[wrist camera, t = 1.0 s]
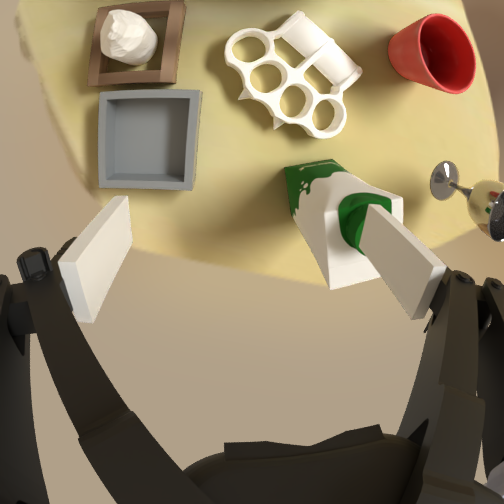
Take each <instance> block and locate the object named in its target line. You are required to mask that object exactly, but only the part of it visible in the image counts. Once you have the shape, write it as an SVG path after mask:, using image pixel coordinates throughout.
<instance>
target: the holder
mask: <svg viewBox="0 0 504 504" xmlns="http://www.w3.org/2000/svg"><path fill="white" fill-rule="evenodd" d="M118 9H119V10H125V11H130V12H133V13H136V14H138V15H140V16H141V17H142V18H159V17H168V21H167V28H166V34H165V41H164V48H163V56H162V64H161V70H144V71H125V72H112V73H108V64H109V57H108V56H106V55H105V54H103V53H102V51H101V43H100V42H101V41H100V32H101V29H102V26H103V23H104V21H105V19H106V18H107V16H108V13H109V11H112V10H118ZM185 12H186V5H185V3H184V0H174V1H152V2H140V3H130V4H121V5H114V6H107V7H101V8H98V12H97V17H96V22H95V28H94V34H93V40H92V47H91V55H90V63H89V73H88V84H87V86H92V87H99V86H111V85H126V84H153V83H176V77H177V68H178V60H179V52H180V45H181V38H182V31H183V24H184V18H185Z"/></svg>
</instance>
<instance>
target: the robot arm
mask: <svg viewBox="0 0 504 504" xmlns="http://www.w3.org/2000/svg"><path fill="white" fill-rule="evenodd" d="M132 243H133V239H132V231H131V223H130V213H129V203H128V195H127V196H114V197H113V198H112V199H111V200H110V201H109V202H108V203H107V204H106V206H105V207H104V208H103V209H102V210H101V211H100V212H99V213H98V214H97V215H96V217H95V218H94V219H93V220H92V221H91V222H90V223H89V224H88V226H87V227H86V228H85V229H84V230H83V231H82V233H81V234H80V235H79V236H78V237H73V238H72V239H70V240H69V241H67V242H66V243H65V244H64V245H63V247H62V248H61V250H59V251H58V252H57V255H55V256H54V257H53V258H52V260H51V261H50V258H49V254H48V250H46V248H43V247H37V248H32V249H29V250H27V251H25V252H23V253H22V254H21V255H20V256H19V257H18V259H17V265H18V268H19V271H20V274H21V277H22V280H23V283H18V284H12V285H10V282H9V279H8V277H7V276H6V275H2V274H1V275H0V504H49V499H48V495H47V490H46V486H45V482H44V478H43V474H42V469H41V465H40V459H39V454H38V448H37V442H36V436H35V429H34V421H33V413H32V400H31V386H30V334H33V333H37V336H38V340H39V343H40V346H41V349H42V351H43V354H44V357H45V360H46V363H47V366H48V368H49V371H50V373H51V376H52V378H53V381H54V384H55V386H56V388H57V391H58V393H59V395H60V398H61V400H62V402H63V404H64V406H65V408H66V411H67V413H68V415H69V417H70V419H71V421H72V423H73V425H74V427H75V429H76V431H77V433H78V435H79V438H78V441H79V444H80V446H81V447H82V449H83V451H84V453H85V455H86V457H87V458H88V460H89V462H90V463H91V465H92V467H93V468H94V470H95V472H96V473H97V475H98V476H99V478H100V479H101V481H102V482H103V484H104V485H105V487H106V488H107V490H108V491H109V493H110V494H111V496H112V497H113V498H114V500H115V501H116V503H117V504H504V285H503V284H502V283H501V281H499V280H497V279H494V278H489V277H488V278H486V280H485V282H484V284H483V286H479V285H475V281H474V280H473V279H472V277H470V276H469V275H468V274H466V273H464V272H461V271H457V270H454V271H451V270H450V269H449V268H448V267H447V266H446V265H445V264H444V263H443V262H442V261H441V260H440V259H439V258H438V257H437V256H436V255H435V254H434V253H433V252H432V251H431V250H430V249H429V248H428V247H427V246H426V245H424V244H423V243H422V242H421V241H420V240H419V239H418V238H417V237H416V236H415V235H414V234H413V233H412V232H410V231H409V230H408V229H407V228H406V227H405V226H404V225H403V224H402V223H400V222H399V221H398V220H397V219H396V218H395V217H394V216H393V215H391V214H390V213H389V212H388V211H387V210H386V209H384V208H383V207H382V206H381V205H376V204H369V205H368V210H367V214H366V219H365V223H364V227H363V231H362V236H361V240H360V244H359V248H360V249H361V250H362V252H363V253H364V254H365V255H366V257H367V258H368V259H369V261H370V262H371V263H372V265H373V266H374V268H375V269H376V270H377V272H378V273H379V274H380V276H381V277H382V278H383V280H384V281H385V283H386V284H387V285H388V287H389V288H390V290H391V291H392V292H393V294H394V295H395V297H396V298H397V300H398V301H399V302H400V304H401V305H402V307H403V308H404V310H405V311H406V313H407V314H408V316H409V317H410V319H411V320H415V319H423V318H424V317H425V315H426V313H427V311H428V309H429V307H430V309H431V310H432V311H433V314H432V316H431V318H430V320H429V322H428V324H427V326H426V328H425V330H424V333H426V331H427V330H428V331H427V335H426V340H425V344H424V349H423V353H422V357H421V361H420V365H419V368H418V372H417V376H416V379H415V382H414V386H413V389H412V393H411V396H410V399H409V402H408V405H407V408H406V411H405V414H404V416H403V419H402V422H401V425H400V427H399V430H398V432H397V434H396V435H391V434H383V433H382V430H381V428H380V425H379V424H377V425H373V426H369V427H364V428H360V429H355V430H349V431H345V432H343V433H341V434H339V435H336V436H334V437H332V438H330V439H327V440H324V441H322V442H320V443H317V444H315V445H312V446H300V445H290V444H282V443H274V442H268V441H263V442H262V441H261V442H234V443H224V452H222V453H218V454H214V455H211V456H208V457H205V458H203V459H201V460H199V461H197V462H195V463H193V464H192V465H190V466H189V467H187V468H186V469H185V470H183V471H182V470H181V469H180V468H179V467H178V465H177V464H176V463H175V462H174V461H173V460H172V459H171V458H170V457H169V455H168V454H167V453H166V452H165V451H164V449H163V448H162V447H161V446H160V445H159V444H158V442H157V441H156V440H155V438H154V437H153V436H152V435H151V434H150V433H149V431H148V430H147V429H146V427H145V426H144V424H143V423H142V422H141V421H140V419H139V418H138V417H137V415H136V414H135V413H134V412H133V411H130V409H129V408H128V407H127V405H126V404H125V403H124V401H123V400H122V398H121V397H120V395H119V394H118V392H117V391H116V389H115V388H114V386H113V385H112V383H111V381H110V380H109V378H108V377H107V375H106V374H105V372H104V370H103V369H102V367H101V365H100V364H99V362H98V360H97V359H96V357H95V355H94V353H93V352H92V350H91V348H90V346H89V344H88V343H87V341H86V339H85V337H84V335H83V333H82V331H81V330H80V328H79V326H78V324H77V322H76V320H77V321H78V322H86V323H94V320H95V319H96V316H97V314H98V312H99V309H100V307H101V305H102V303H103V301H104V299H105V297H106V294H107V292H108V290H109V288H110V286H111V284H112V282H113V280H114V278H115V276H116V274H117V272H118V270H119V268H120V266H121V264H122V262H123V260H124V258H125V256H126V254H127V252H128V250H129V248H130V247H131V245H132ZM72 311H73V312H74V315H75V318H76V320H75V318H74V316H73V314H72ZM490 322H491V323H490ZM489 324H490V325H489ZM488 325H489V327H488ZM476 391H477V396H478V397H477V396H476ZM481 441H482V446H483V460H484V466H485V474H486V478H487V483H485V484H484V485H482V484H480V483H479V482H477V481H475V480H474V477H475V473H476V468H477V463H478V458H479V453H480V447H481Z"/></svg>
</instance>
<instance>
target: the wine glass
mask: <svg viewBox="0 0 504 504" xmlns="http://www.w3.org/2000/svg"><path fill="white" fill-rule="evenodd" d="M458 184H459V172H458V169H457V167H456V166H455V164H454V163H452V162H450V161H443V162H441V163H440V164H438V165H437V166H436V168H435V169H434V171H433V173H432V176H431V181H430V187H431V191H432V194H433V196H434V197H435V198H436V199H438V200H442V201H443V200H447V199H449V198H450V197H452V196H453V195H454V193H455V192H456V190H458V191H459V192H461V193H462V194H463V195H464V196H465V198H466V202H467V209H468V213H469V215H470V217H471V219H472V220H473V222H474V223H475V224H476V225H477V226H478V228H479V229H480V230H481V231H483V232H484V233H485V234H486V235H487V236H489V237H490V238H491V239H493V240H494V241H497V242H501V241H503V240H504V183H502V182H498V181H495V180H481V181H479V182H477V183H476V184H474V185H473V186H472V187H469V188H466V187H462V186H460V185H458Z"/></svg>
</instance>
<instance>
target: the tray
mask: <svg viewBox="0 0 504 504" xmlns="http://www.w3.org/2000/svg"><path fill="white" fill-rule="evenodd" d="M201 102H202V91H200V90H179V89H150V90H123V91H108V92H100V98H99V117H98V176H99V188H137V189H167V190H188V191H192V189H193V186H194V183H195V176H196V161H197V147H198V134H199V123H200V112H201Z"/></svg>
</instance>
